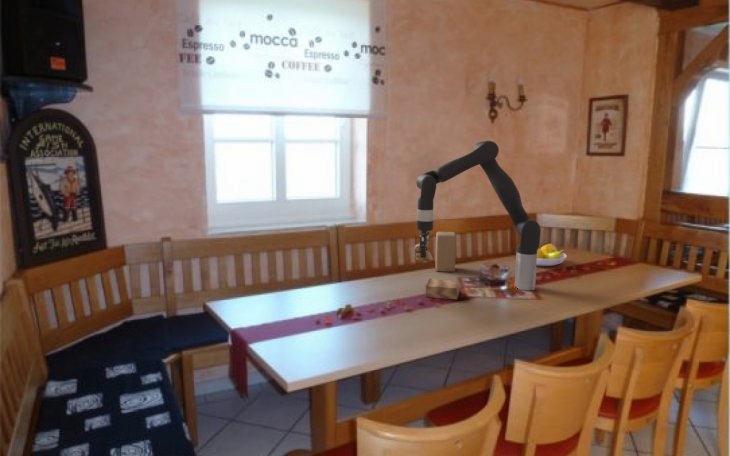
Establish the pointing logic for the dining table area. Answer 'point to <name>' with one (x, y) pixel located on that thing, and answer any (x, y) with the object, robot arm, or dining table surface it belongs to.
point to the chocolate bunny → (418, 254)
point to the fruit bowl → (549, 256)
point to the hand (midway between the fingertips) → (424, 256)
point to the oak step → (442, 289)
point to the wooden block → (445, 251)
